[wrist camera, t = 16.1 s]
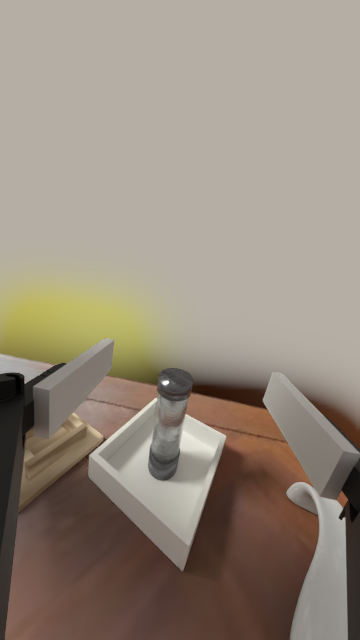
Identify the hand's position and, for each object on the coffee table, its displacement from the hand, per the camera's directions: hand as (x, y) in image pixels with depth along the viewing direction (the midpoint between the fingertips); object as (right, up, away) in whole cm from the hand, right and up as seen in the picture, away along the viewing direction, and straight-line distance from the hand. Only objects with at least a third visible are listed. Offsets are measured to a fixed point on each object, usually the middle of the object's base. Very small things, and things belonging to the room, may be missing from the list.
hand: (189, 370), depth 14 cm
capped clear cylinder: (-4, -19, +14) cm, 24 cm away
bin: (-4, -20, +15) cm, 25 cm away
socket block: (-23, -17, +14) cm, 32 cm away
